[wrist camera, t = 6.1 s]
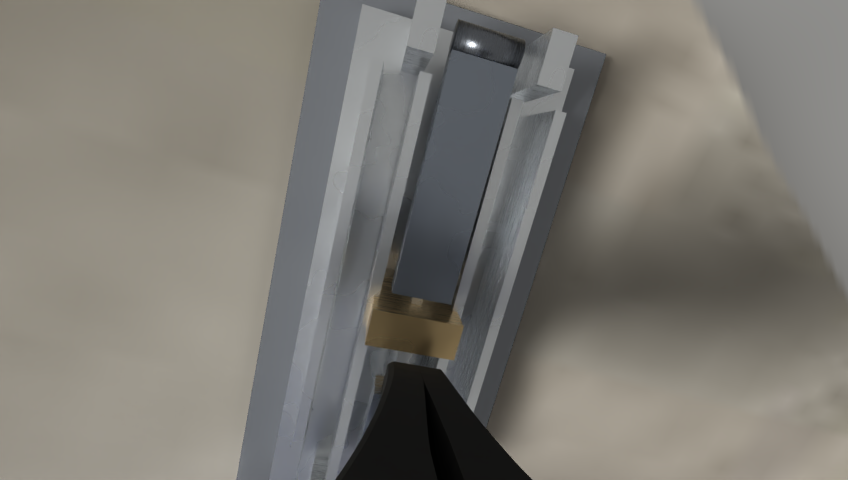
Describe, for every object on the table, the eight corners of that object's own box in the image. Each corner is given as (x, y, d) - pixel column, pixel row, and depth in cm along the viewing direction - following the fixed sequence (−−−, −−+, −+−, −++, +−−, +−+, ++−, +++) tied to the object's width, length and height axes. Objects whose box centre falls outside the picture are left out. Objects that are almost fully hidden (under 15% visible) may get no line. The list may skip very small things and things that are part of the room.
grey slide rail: (436, 482, 16) (454, 590, 12) (275, 463, 15) (238, 573, 11) (559, 75, 13) (637, 44, 9) (363, 15, 12) (355, -48, 8)
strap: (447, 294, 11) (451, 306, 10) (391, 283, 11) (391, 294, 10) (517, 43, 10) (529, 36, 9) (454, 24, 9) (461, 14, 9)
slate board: (458, 493, 17) (460, 506, 16) (241, 468, 16) (236, 480, 15) (596, 58, 13) (606, 54, 13) (329, -27, 12) (326, -36, 11)
